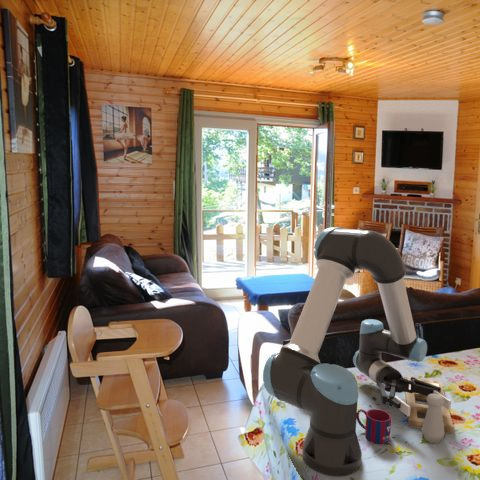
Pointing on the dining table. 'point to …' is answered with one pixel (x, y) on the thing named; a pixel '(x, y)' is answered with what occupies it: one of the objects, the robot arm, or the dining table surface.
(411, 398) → the wooden slotted tray
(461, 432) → the dining table surface
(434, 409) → the salt shaker
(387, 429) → the mug
